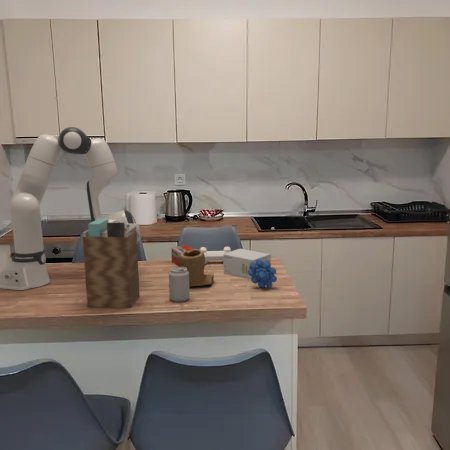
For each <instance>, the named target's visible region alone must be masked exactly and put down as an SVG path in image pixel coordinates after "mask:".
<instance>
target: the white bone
mask: <svg viewBox="0 0 450 450" xmlns="http://www.w3.org/2000/svg"><path fill="white" fill-rule="evenodd" d="M199 250H202V251H203V253H204V255H205V265H207V264H208V262H207V261H224V255H223V254H225V253H228V252H231V251H232V249H231V247H230V246H224V248H223V250H208V249H207V247H204V246H201V247H200V248H199Z"/></svg>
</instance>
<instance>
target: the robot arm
mask: <svg viewBox="0 0 450 450" xmlns="http://www.w3.org/2000/svg"><path fill="white" fill-rule="evenodd" d="M63 154H69V155H82V156H83V157H84V158H85V160H86V162H87V166H88V168H89V174H90V175H89V180H88V181H87V182H86V195H87V203H88V208H89V209H88V210H89V214H90V223H91V222H93V221H95V220H97V219H108V220H116V221H117V223H124V224H125V230H129V229H131V228H132V227H134V226H136V232H137V243H139V242H140V238H141V225H139V223H136V219H135V218H134V216H133V214H132V212H131V211H129V210H126V209H123V210H118V211H115V212H112V213H109V214H106V215H102V214H101V207H100V201H99V200H100V199H99V196H100V193H101V192H102V191H103V190H104V189H105V188H107V187H108V186H110V185H111V184H112V183H113V182H114V181H115V180H116V178H117V176H118V167H117V164H116V161H115V158H114V156H113V153H112V151H111V148H110V147H109V144H108V143H107V141H106V140H105V139H103V138H100V137H95V138H90V137H89V136H88V135H87V134H86V133H85V132H84V131H83V130H82V129H80V128H78V127H75V126H68V127H66V128H64V129H62V131H61V132H60V133H59V134H58V135H57V136H56V135H51V134H49V133H48V134H47V133H44V134H40V135H39V136H38V137H37V139H36V140H35V142H34V143H33V145H32V147H31V149H30V151H29V153H28V156H27V158H26V162H25V163H24V167H23V168H22V171H21V175H20V177H19V180H18V181H17V184H16V186H15V190H14V193H13V195H12V198H11V200H10V204H9V212H10V219H11V220H10V221H11V226H12V234H13V244H14V251H13V252H12V253H10V254H9V259H10V258H11V260H10V261H9V263H7V264H6V265H5V266H4V267H2V268H1V269H0V289H2V290H3V289H4V290H12V291H13V290H15V291H25V290H28V289H34V288H39V287H42V286H45V285H47V284H49V283H51V279H50V276H49V273H48V269H47V265H46V261H47V259H46V250H45V249H44V241H43V228H42V217H41V216H42V215H41V214H42V213H41V202H42V200H43V198H44V196H45V194H46V191H47V189H48V186H49V184H50V182H51V180H52V177H53V174H54V171H55V168H56V166H57V163H58V161H59V159H60V157H61V155H63Z"/></svg>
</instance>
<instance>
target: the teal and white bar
mask: <svg viewBox="0 0 450 450" xmlns="http://www.w3.org/2000/svg"><path fill="white" fill-rule="evenodd" d="M107 223H117V221H116V220H108V219H97V220H95V221H93V222H91V221H90V222H89V223H87V230H88V232H89V237H100V236H102V232H104V231H106V230H107Z"/></svg>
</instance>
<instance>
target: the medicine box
mask: <svg viewBox="0 0 450 450" xmlns="http://www.w3.org/2000/svg"><path fill="white" fill-rule="evenodd" d="M170 249H171V251H170V252H171V262H172V263H173V265H175V266H176V267H180V261H179V257H180V254H181V253H182V252H184V251H189V250H192V249H194V248H193V247H191V246H189V245H187V244H185V245H184V244H183V245H178V246H177V245H176V246H171V248H170Z"/></svg>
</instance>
